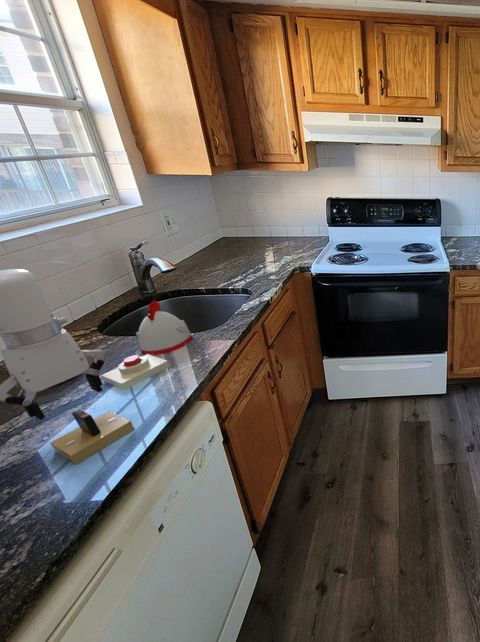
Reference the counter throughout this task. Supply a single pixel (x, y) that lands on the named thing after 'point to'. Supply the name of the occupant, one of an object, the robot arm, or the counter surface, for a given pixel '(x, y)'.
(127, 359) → the bell button
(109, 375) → the block
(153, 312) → the kitchen timer
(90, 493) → the counter surface
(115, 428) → the plate
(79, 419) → the lock knob
